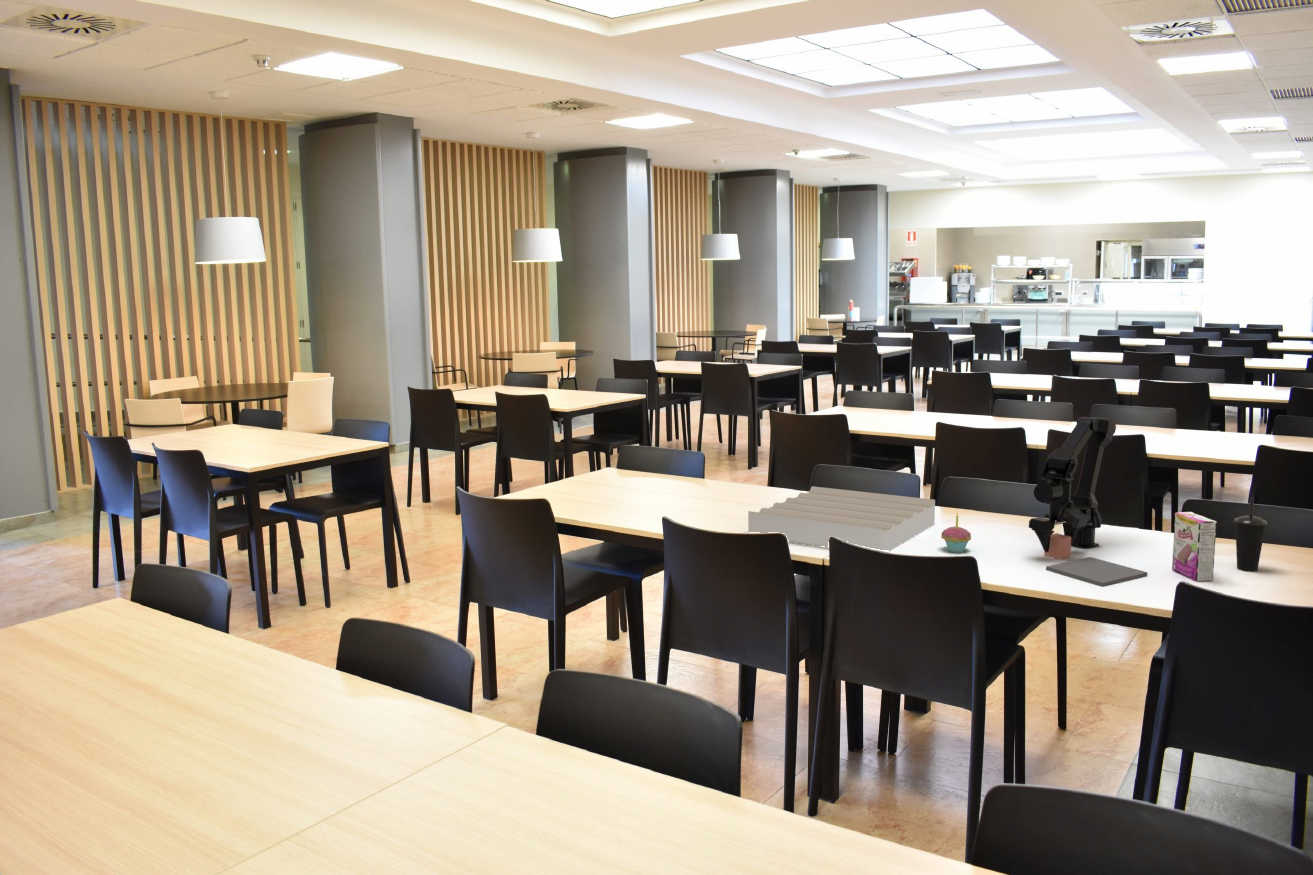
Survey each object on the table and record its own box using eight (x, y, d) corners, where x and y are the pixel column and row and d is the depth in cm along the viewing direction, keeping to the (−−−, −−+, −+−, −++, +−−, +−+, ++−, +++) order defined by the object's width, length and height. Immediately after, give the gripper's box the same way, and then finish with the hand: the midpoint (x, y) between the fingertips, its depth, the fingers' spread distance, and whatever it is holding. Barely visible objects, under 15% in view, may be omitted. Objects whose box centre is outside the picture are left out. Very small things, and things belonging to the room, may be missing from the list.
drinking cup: (1224, 565, 271) (1229, 495, 268) (1250, 564, 271) (1255, 494, 268) (1243, 573, 263) (1248, 501, 260) (1270, 572, 264) (1275, 500, 261)
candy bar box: (1170, 570, 268) (1173, 512, 265) (1187, 569, 268) (1191, 511, 266) (1195, 582, 257) (1199, 521, 254) (1214, 581, 257) (1218, 520, 255)
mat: (1090, 560, 279) (1090, 556, 279) (1147, 575, 263) (1147, 572, 263) (1046, 569, 271) (1046, 566, 270) (1102, 586, 255) (1102, 582, 255)
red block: (1056, 552, 287) (1056, 533, 286) (1070, 556, 283) (1071, 536, 282) (1044, 555, 285) (1045, 535, 284) (1058, 559, 281) (1059, 539, 280)
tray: (811, 510, 350) (811, 486, 348) (934, 526, 324) (934, 499, 322) (748, 538, 314) (748, 511, 312) (880, 558, 288) (881, 528, 286)
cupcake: (972, 554, 287) (973, 514, 285) (942, 553, 289) (943, 514, 287) (968, 547, 296) (970, 508, 294) (939, 546, 297) (940, 507, 295)
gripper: (1060, 506, 270) (1058, 561, 272) (1105, 498, 279) (1103, 551, 281) (1028, 499, 280) (1026, 552, 282) (1073, 491, 288) (1070, 543, 291)
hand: (1057, 549), depth 284 cm, fingers open, 9 cm apart
